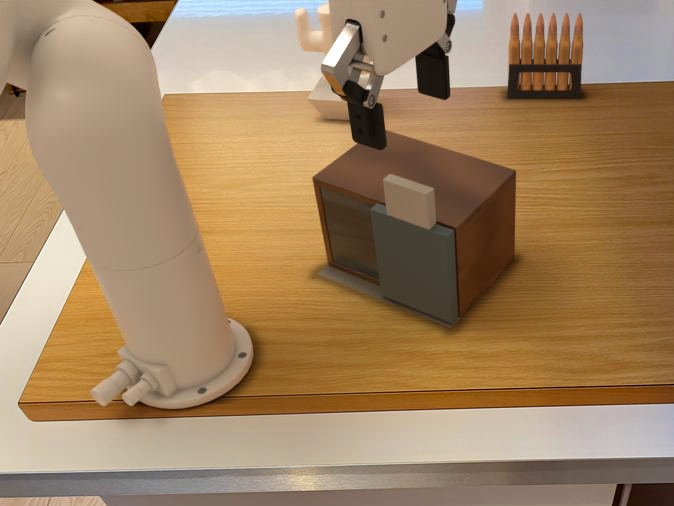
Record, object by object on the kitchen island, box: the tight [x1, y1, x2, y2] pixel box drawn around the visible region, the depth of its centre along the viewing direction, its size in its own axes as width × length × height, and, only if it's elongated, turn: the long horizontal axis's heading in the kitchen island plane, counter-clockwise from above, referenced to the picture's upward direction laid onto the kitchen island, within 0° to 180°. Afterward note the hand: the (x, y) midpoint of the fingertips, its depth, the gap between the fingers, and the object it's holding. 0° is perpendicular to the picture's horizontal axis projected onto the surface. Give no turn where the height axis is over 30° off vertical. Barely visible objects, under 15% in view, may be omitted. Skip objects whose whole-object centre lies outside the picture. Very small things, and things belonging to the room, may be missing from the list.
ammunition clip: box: [506, 12, 584, 100], centre depth 116 cm, size 11×2×12 cm, turn 88°
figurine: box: [294, 1, 371, 121], centre depth 112 cm, size 7×9×15 cm
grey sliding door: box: [370, 174, 458, 324], centre depth 81 cm, size 1×9×15 cm, turn 59°
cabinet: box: [311, 129, 517, 330], centre depth 88 cm, size 14×18×12 cm
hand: (403, 119), depth 71 cm, fingers open, 9 cm apart
